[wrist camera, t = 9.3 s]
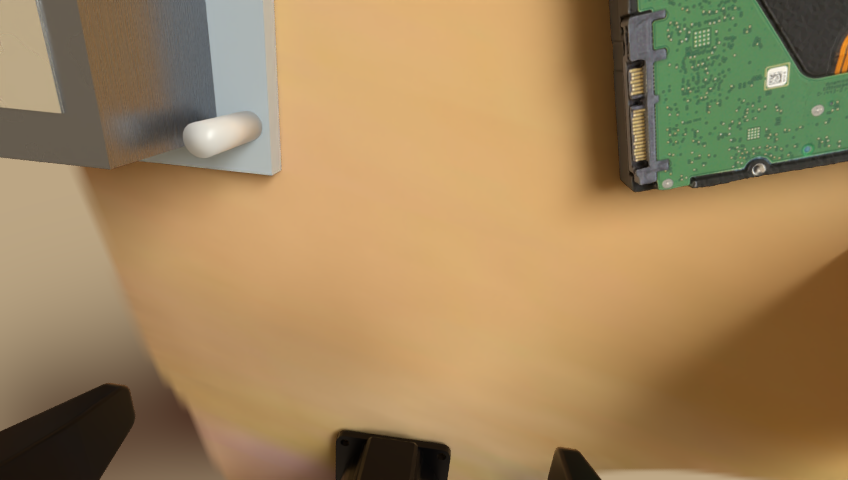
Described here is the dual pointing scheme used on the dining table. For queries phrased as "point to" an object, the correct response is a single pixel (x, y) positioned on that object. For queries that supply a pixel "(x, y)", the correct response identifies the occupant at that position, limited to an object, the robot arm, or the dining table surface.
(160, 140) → the block
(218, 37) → the tray
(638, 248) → the dining table surface
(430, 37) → the dining table surface
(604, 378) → the dining table surface
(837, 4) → the disk drive
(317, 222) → the dining table surface
